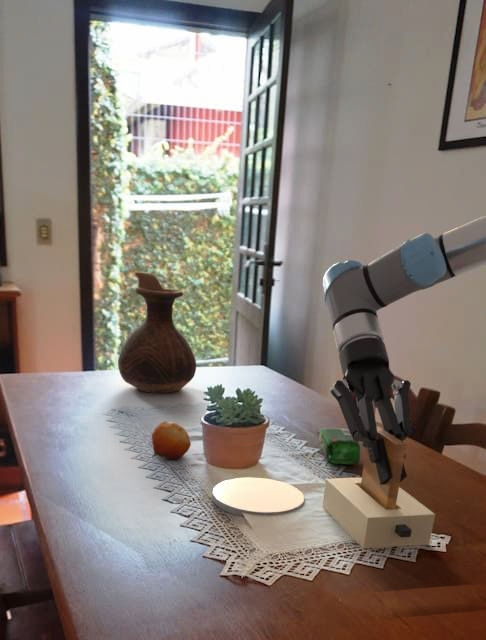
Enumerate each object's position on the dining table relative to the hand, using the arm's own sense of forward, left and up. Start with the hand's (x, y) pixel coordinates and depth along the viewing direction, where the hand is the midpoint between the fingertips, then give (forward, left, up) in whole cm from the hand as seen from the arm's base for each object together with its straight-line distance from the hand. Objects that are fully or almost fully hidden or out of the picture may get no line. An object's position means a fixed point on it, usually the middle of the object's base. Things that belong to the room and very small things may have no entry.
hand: (393, 480), depth 103 cm
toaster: (0, -4, -10) cm, 11 cm away
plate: (+15, -18, -10) cm, 25 cm away
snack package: (-9, -39, -10) cm, 41 cm away
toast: (0, -4, -9) cm, 10 cm away
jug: (+19, -100, -10) cm, 102 cm away
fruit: (+26, -42, -10) cm, 50 cm away
